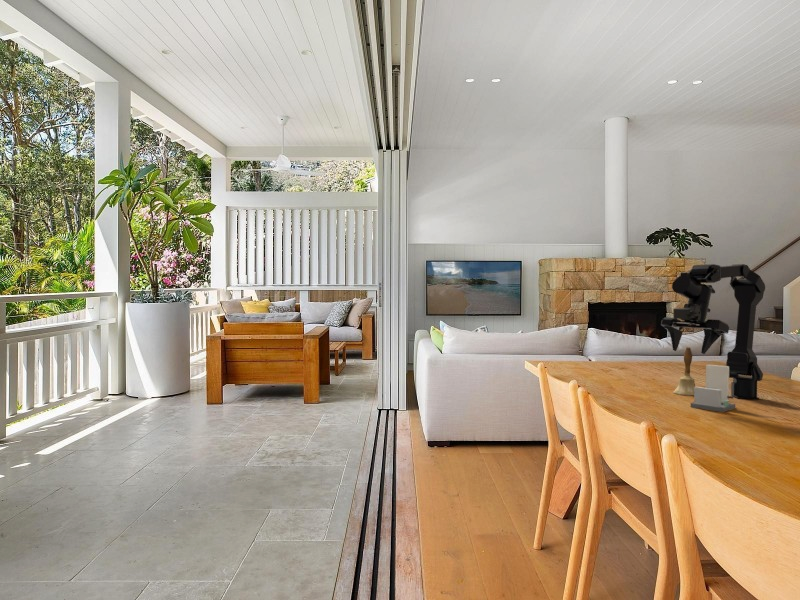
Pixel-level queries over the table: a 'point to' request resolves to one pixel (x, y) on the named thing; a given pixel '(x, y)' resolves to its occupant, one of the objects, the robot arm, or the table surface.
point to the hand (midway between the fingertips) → (688, 352)
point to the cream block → (718, 380)
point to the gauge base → (710, 400)
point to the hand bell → (686, 377)
